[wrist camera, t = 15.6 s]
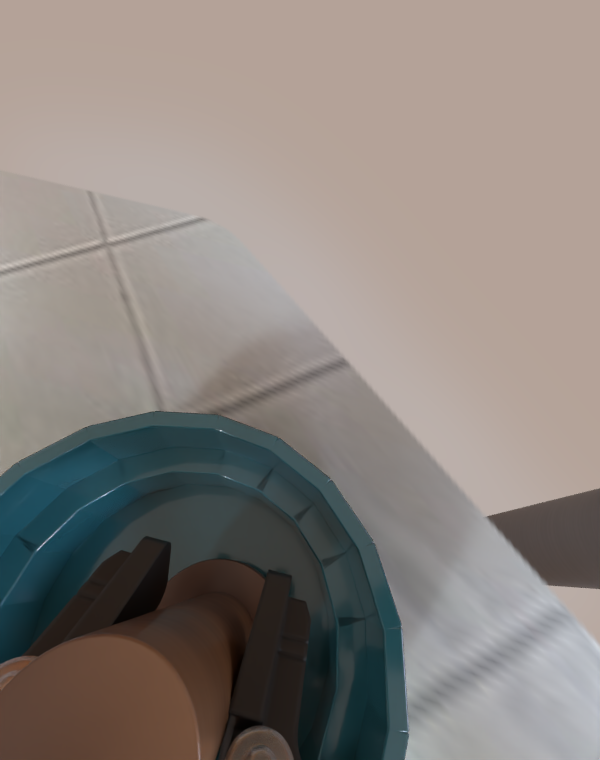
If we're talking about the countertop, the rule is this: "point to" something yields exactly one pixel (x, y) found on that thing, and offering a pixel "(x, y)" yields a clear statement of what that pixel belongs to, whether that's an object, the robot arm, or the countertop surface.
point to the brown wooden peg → (140, 677)
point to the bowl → (214, 553)
